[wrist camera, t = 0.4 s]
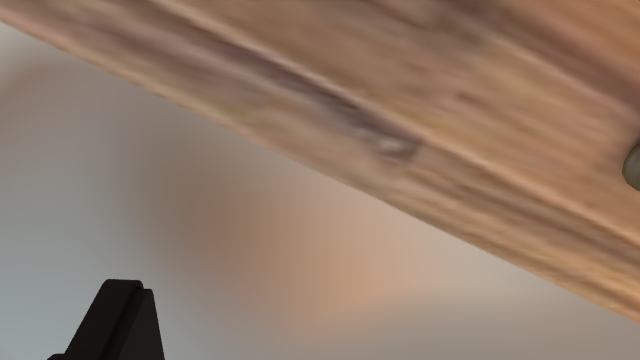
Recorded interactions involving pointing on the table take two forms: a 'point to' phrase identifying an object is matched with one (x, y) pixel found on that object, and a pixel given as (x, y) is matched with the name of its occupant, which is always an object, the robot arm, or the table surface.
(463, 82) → the table surface
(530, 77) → the table surface
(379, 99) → the table surface
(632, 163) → the kendama
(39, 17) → the table surface
